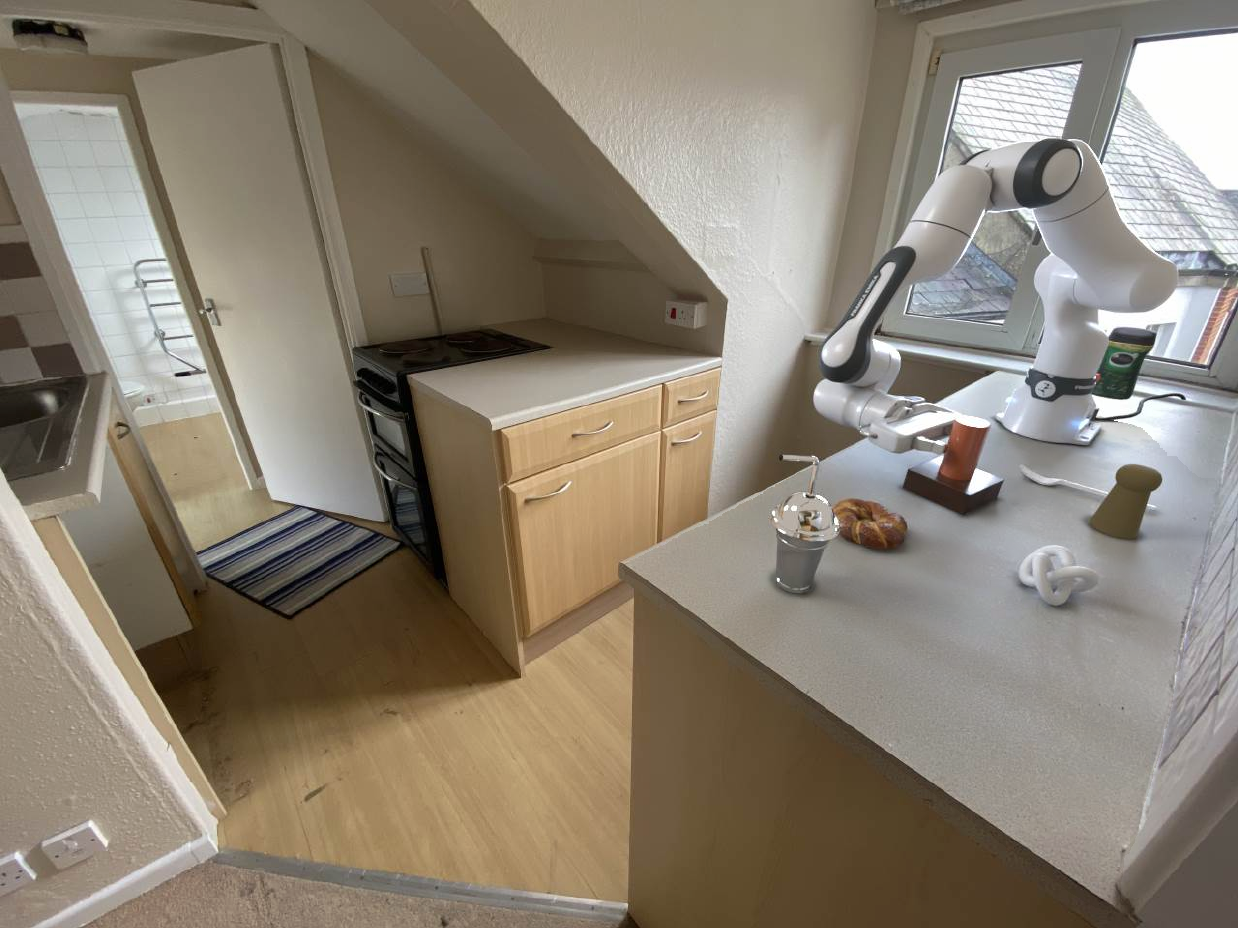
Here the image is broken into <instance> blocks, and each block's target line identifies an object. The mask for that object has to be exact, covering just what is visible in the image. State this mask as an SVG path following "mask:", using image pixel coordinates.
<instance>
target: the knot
mask: <svg viewBox="0 0 1238 928" xmlns="http://www.w3.org/2000/svg"><path fill="white" fill-rule="evenodd" d="M1051 557H1059V559H1060V562H1061V567H1059V568H1056V569H1055V567H1054V563H1053V561H1052V558H1051ZM1018 578H1019V581H1020V583H1022V584H1023V585H1025V586H1027V587H1029V588H1036V590H1037V591H1038V594H1039V595H1040V597H1041V598H1042V600H1043V601H1045V602H1046V604H1048V605H1051V606H1055V607H1056V606H1061V605H1063V604H1065V603H1066V602H1067V600H1069V599H1068V598H1070V595H1071V593H1083V592H1087V591H1091V590H1092V589H1094V588H1096V587H1097V586H1098V585H1099V582H1100V578H1099V575H1098V574H1097V572H1096V571H1094V569H1093V570H1092V569H1091V568H1089V567H1086V566H1079V565H1077V563H1076V558H1075V556H1074V554H1073V553H1072V551H1070V550H1069V549H1068V548H1066V547H1064V546H1062V545H1057V544H1051V545H1045V546H1042V547H1040V548H1038V549H1035V550H1034V551H1032V552H1030V553H1029V554H1028V556H1026V557H1025V558H1024V559H1023V561H1022V562H1021V564H1020V566H1019V569H1018ZM1076 578H1077V579H1080V580H1075V579H1076ZM1051 586H1052V587H1053V588H1056V589H1055V591H1053V589H1052V587H1051Z"/></svg>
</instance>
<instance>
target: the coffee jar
mask: <svg viewBox="0 0 1238 928" xmlns="http://www.w3.org/2000/svg"><path fill="white" fill-rule="evenodd" d="M1156 338H1157V331H1156V330H1153V329H1147V328H1141V327H1133V326H1115V327H1114V328H1113V329H1112V331H1111V332H1110V333H1109V334H1108V339H1109V344H1108V347H1107V349H1106V352H1105V354H1104V357H1103V359H1102V361H1101V364H1100V366H1099V368H1098V371H1097V373H1096V374H1100V377H1099V380H1098V381H1097V382H1096V385H1095V387H1094V390H1093V392H1092V393H1091V395H1092V396H1095V397H1098V398H1099V397H1100V398H1103V399H1110V400H1111V399H1112V400H1120V401H1123V400H1124V401H1127V400H1129V399H1131V398H1132V396H1133V394H1134V391H1135V388H1136V385H1137V382H1138V378H1139V375H1140V372H1141V369H1142V366H1143V364H1144V361H1145V359H1146V357H1147V355H1148V354H1149V353H1150V352H1151V351H1152V350H1153V349H1154V347H1155V344H1156Z"/></svg>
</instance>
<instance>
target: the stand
mask: <svg viewBox="0 0 1238 928" xmlns="http://www.w3.org/2000/svg"><path fill="white" fill-rule="evenodd" d="M943 456H944V455H941V456H938V457H936V458H933V459H931V460H927V461H925V462H922V463H920V464H917V465H915V466H912V467H910V468H907V471H906V475H905V477H904V482H903V485H902V489H904V490H905V491H907V492H910V493H912V494H914V495H917V496H918V497H920V498H923V499H925V500H927V501H929V502H932V503H934V504H935V505H936V504H937V506H938V505H939V506H940V507H943V508H944V509H947V510H950V511H952V512H954V513H956V514H958V515H960V516H966V515H967V514H969V513H972V512H973V511H976V510H978V509H980V508H982V507H984V506H985V505H988V504H990V503H992V502H994V501H996V500H998V498H999V495H1000V492H1001V490H1002V488H1003V485H1004V482H1005V479H1004V478H1001V477H999V476H997V475H994V474H991V473H989V472H986V471H983V470H980V469H978V468H976V469H975V472H974V475H973V478H972V479H971V480H968V481H960V480H954V479H951V478H948V477H946V476H944V475H942V474H941V473H940V472H939V468H940V465H941V462H942V459H943Z"/></svg>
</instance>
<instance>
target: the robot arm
mask: <svg viewBox="0 0 1238 928" xmlns="http://www.w3.org/2000/svg"><path fill="white" fill-rule="evenodd" d="M1024 209H1028V210H1029V209H1030V210H1031V212H1032V216H1033V218H1034V220H1035V222H1036V225H1037V227H1038V229H1039V232H1040V234H1041V236H1042V239H1043V242H1044V244H1045V246H1046V249H1047V250H1048V251H1049V252H1050V254H1049V255H1048V256H1046V257H1045V258H1044V259H1043V260H1042V261H1041V262H1040V264H1039V265H1038V267H1037V268H1036V270H1035V273H1034V277H1033V285H1034V288H1035V290H1036V292H1037V293H1038V295H1039V297H1040V298H1041V301H1042V305H1043V312H1044V329H1043V333H1042V338H1041V341H1040V344H1039V347H1038V351H1037V354H1036V356H1035V359H1034V362H1033V364H1032V365H1031V366H1029V369H1028V371H1027V372H1026V374H1025V379H1024V384H1022V385H1020V386H1018V387H1015V388H1014V390H1013V392H1012V394H1011V397H1006V400H1005V403H1007V406H1006V408H1005V410H1004V412H1002V413H997V414H996V416H995V419H996V421H999V422H1001V424H1002V426H1003V427H1004V428H1006V429H1007V430H1009V431H1011V432H1012V433H1015V434H1018V435H1020V436H1023V437H1027V438H1030V439H1034V440H1037V441H1042V442H1049V443H1058V444H1071V445H1079V446H1089V445H1090V444H1091V442H1093V440H1094V438H1095V437H1096V435H1097V434H1098V433H1099V432H1100V429H1101V425H1100V424H1097V423H1096V422H1094V421H1097V422H1099V421H1102V422H1103V421H1105V422H1106V421H1108V422H1109V421H1117V420H1124V419H1132V418H1135V417H1137V416H1139V415H1140V414H1141V413H1142V411H1143V408H1144V404H1145V403H1146V402H1148V401H1151V400H1158V399H1165V398H1170V397H1177V398H1179V399H1181V400H1182V401H1187V398H1186V396H1185V395H1184V394H1182V393H1178V392H1170V393H1164V394H1158V395H1151V396H1146V397H1144V398H1143V399H1141V400H1140V401H1139V403H1138V407H1137V410H1136V411H1135V412H1133V413H1132V412H1131V413H1128V414H1119V415H1114V416H1105V417H1097V416H1098V413H1099V411H1100V407H1097V404H1096V402H1095V400H1094V398H1093V395H1091V393H1092V392H1093V390H1094V387H1095V385H1096V382H1097V381H1098V380H1099V377H1100V374H1096V373H1097V371H1098V368H1099V366H1100V364H1101V361H1102V359H1103V357H1104V354H1105V352H1106V349H1107V347H1108V344H1109V339H1108V337H1109V335H1108V333H1107V332H1106V331H1105V330H1104V328H1103V327H1102V326H1101V324H1100V320H1099V311H1104V312H1110V313H1115V314H1116V313H1117V314H1134V313H1135V314H1136V313H1137V314H1138V313H1139V314H1140V313H1148V312H1150V311H1153V310H1156V309H1158V307H1160V306H1162V305H1163V304H1164V303H1166V302H1167V301H1168V300H1169V298H1171V296H1172V295H1173V294H1174V293H1175V290H1176V289H1177V287H1178V284H1179V279H1180V278H1179V277H1180V274H1179V268H1178V267H1177V264H1175V262H1173V261H1171V260H1169V259H1167V258H1165V257H1164V256H1162V255H1160V254H1159V253H1157V252H1155V251H1154V250H1153V249H1152V248H1150V247H1149V246H1148V245H1147V244H1146V243H1145V242H1144V241H1143V240H1142V239H1141V238H1140V237H1139V236H1138V235H1137V234H1136V233H1135V232H1134V231H1133V229H1132V228H1130V226H1129V225H1128V224H1127V222H1126V221H1125V220H1124V219H1123V217H1122V215H1121V213H1120V211H1119V207H1118V205H1117V203H1116V200H1115V197H1114V194H1113V192H1112V189H1111V186H1110V183H1109V179H1108V178H1107V176H1106V172H1105V171H1104V168H1103V165H1102V164H1101V163H1100V161H1099V158H1098V157H1097V156H1096V154H1095V153H1094V151H1093V150H1092V148H1091V147H1090V146H1089V145H1088V144H1087V143H1086V142H1084V140H1081V139H1065V138H1059V137H1057V138H1055V137H1048V138H1044V139H1041V140H1039V139H1035V140H1024V141H1017V142H1012V143H1009V144H1006V145H1002V146H998V147H995V148H992V149H989V148H988V149H983V150H980V151H978V152H975V153H972V154H971V155H969V156H968V157H966V158H965V159H963V160H962V161H961V162H960V163H958V165H953V166H951V167H949V168H947V169H945V170H944V171H942V172H941V173H940V174H939V175H938V176H937V178H936V179H935V181H934V182H933V183H932V184H931V186H930V187H929V189H928V190H927V192H926V193H925V195H924V196H923V198H922V199H921V201H920V203H919V204H918V206H917V208H916V210H915V211H914V213H913V215H912V216H911V219H910V221H909V223H908V225H907V226H906V228H905V230H904V232H903V233H902V235H901V237H900V238H899V240H898V241H897V243H896V244H895V245H894V247H892V249H890V250H888V251H887V252H886V253H885V254H884V255H883V257H882V258H880V260H879V261H878V263H876V265H875V267H874V268H873V270H872V271H871V273H870V274H869V276H868V278H867V279H866V280H865V283H864V284H863V285H862V287H861V289H860V291H859V292H858V293H857V296H856V297H855V299H854V300H853V302H852V303H851V304H850V307H849V308H848V310H847V311H846V313H845V314H844V316H843V318H842V319H841V321H840V322H839V323H838V325H837V326H836V327H835V328H834V329H833V330H832V331H831V332H830V333H829V334H828V335H827V336H826V337H825V338H824V340H823V341H822V344H821V345H820V348H819V352H818V356H817V362H818V363H817V365H818V368H819V371H820V373H821V375H822V376H823V377H824V379H822V380H821V381H820V382H818V383H817V384H816V387H815V389H814V392H813V399H812V401H813V406H814V408H815V410H816V411H817V413H819V414H820V415H821V416H822V417H824V418H825V419H826V420H829V421H830V422H832V423H835V424H837V425H839V426H841V427H844V428H848V429H855V430H857V431H858V432H859V433H860V435H863V436H866V437H867V441H869V442H870V443H871V444H873V445H875V446H877V447H879V448H880V449H883V450H885V451H888V452H889V453H892V454H897V455H901V454H905V453H907V452H910V451H913V450H915V451H920V452H927V453H932V454H934V455H935V454H936V455H938V456H940V455H941V456H942V455H944V453H945V452H946V451H947V448H948V445H947V443H945V442H943V441H941V440H944V439H947V438H949V437H950V434H951V430H952V427H953V424H954V421H955V418H956V417H959V416H963V415H962V414H961V413H959V412H957V411H955V410H953V409H950V408H947V407H945V406H941V405H938V404H935V403H931V402H926V399H925V398H923V397H921V396H900V395H895V394H893V395H892V394H890V393H889V392H890V390H891V389H892V387H893V385H894V383H895V382H896V380H897V379H898V377H899V375H900V373H901V370H902V357H901V354H900V352H899V350H897V349H896V347H894V346H892V345H890V344H888V343H885V342H883V341H881V340H878V339H876V338H874V336H875V332H876V331H877V329H878V327H879V326H880V324H881V322H882V321H883V319H884V318H885V316H886V315H887V313H888V312H889V310H890V308H891V307H892V305H893V303H894V302H895V300H896V299H897V298H898V296H899V295H900V294H902V292H903V291H905V290H906V289H907V288H909V287H910V286H914V285H917V284H925V283H930V282H934V281H937V280H939V279H941V278H943V277H945V276H947V275H948V274H950V273H951V272H952V270H953V269H954V268H955V267H956V266H957V264H958V263H959V262H960V261H961V259H962V257H963V256H964V254H965V253H966V251H967V249H968V247H969V245H970V244H971V241H972V240H973V237H974V235H975V234H976V231H977V230H978V227H979V225H980V223H981V221H982V218H983V217H984V216H985V215H986V214H987V213H1004V212H1009V211H1018V210H1024ZM888 393H889V394H888Z"/></svg>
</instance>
